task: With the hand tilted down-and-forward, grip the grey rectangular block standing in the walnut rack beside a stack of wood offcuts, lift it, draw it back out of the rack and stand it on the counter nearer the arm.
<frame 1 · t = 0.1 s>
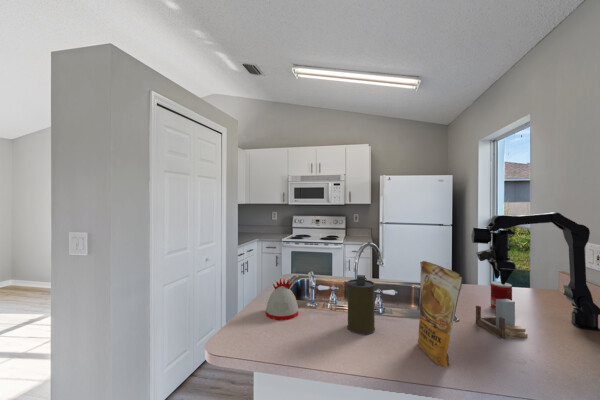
hand: (499, 281, 122), 15 cm above the worktop, tool pointing down, fingers open, 9 cm apart
canister: (360, 328, 110), on the worktop
beanie hat: (282, 314, 124), on the worktop
grey rectangular block: (505, 329, 109), on the worktop
canned food: (501, 308, 131), on the worktop
pancake mix bag: (435, 354, 91), on the worktop
rack: (505, 329, 109), on the worktop
offcut stack: (514, 335, 104), on the worktop
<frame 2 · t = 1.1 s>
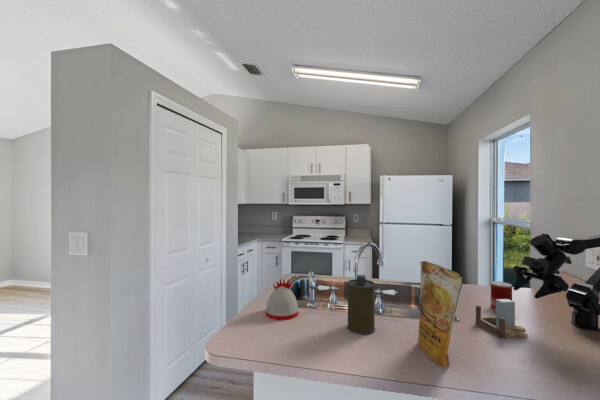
hand: (524, 293, 110), 13 cm above the worktop, tool tilted 45°, fingers open, 9 cm apart
nothing on the worktop moved.
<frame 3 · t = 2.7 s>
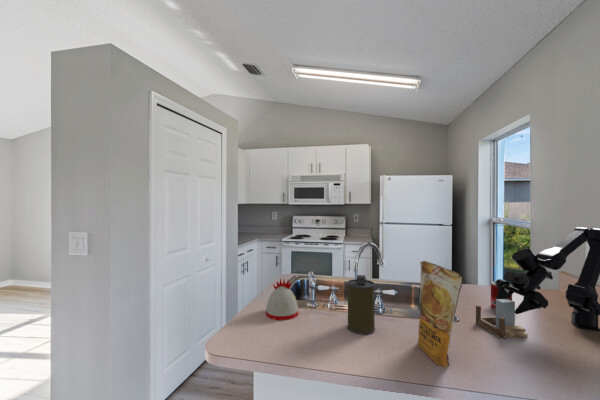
hand: (505, 308, 109), 8 cm above the worktop, tool tilted 45°, fingers open, 9 cm apart
nothing on the worktop moved.
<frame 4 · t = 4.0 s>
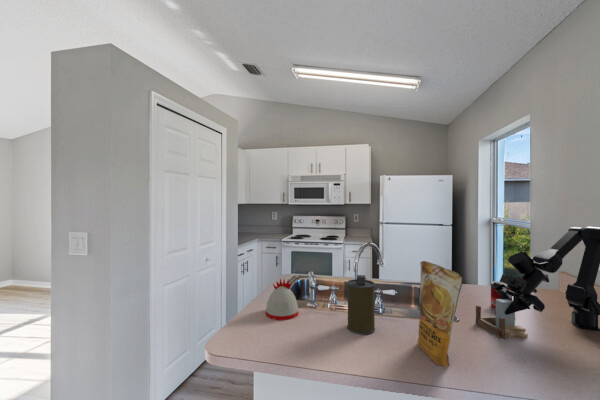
hand: (501, 312, 109), 7 cm above the worktop, tool tilted 45°, fingers closed on grey rectangular block, 3 cm apart
grey rectangular block: (505, 329, 109), on the worktop, touching gripper
everything else where it was.
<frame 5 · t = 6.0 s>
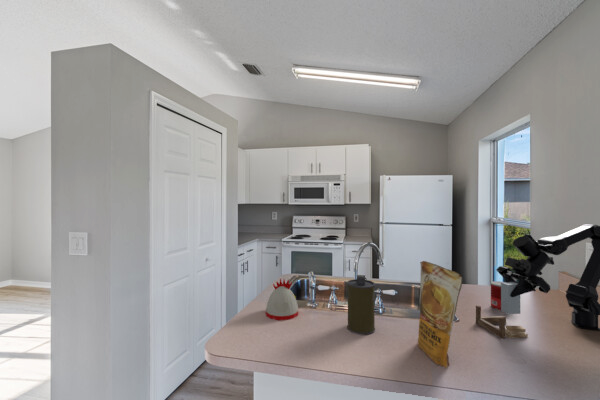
hand: (507, 294, 109), 13 cm above the worktop, tool tilted 45°, fingers closed on grey rectangular block, 3 cm apart
grey rectangular block: (510, 312, 109), point 6 cm above the worktop, touching gripper
everything else where it was.
when the fingers open (7 cm above the worktop, at t = 8.1 s): grey rectangular block stays where it is, on the worktop.
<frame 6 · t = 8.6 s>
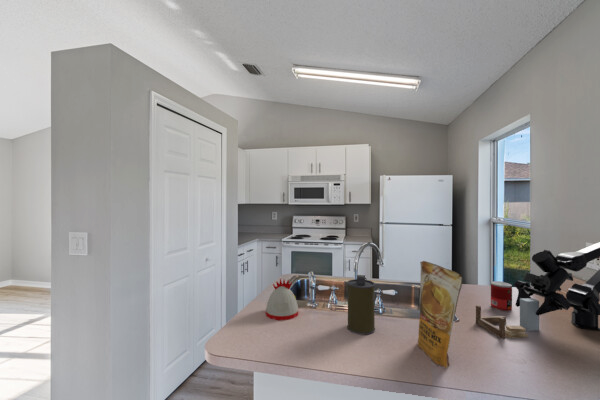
hand: (526, 310, 110), 7 cm above the worktop, tool tilted 45°, fingers open, 8 cm apart
grey rectangular block: (529, 328, 110), on the worktop
everything else where it was.
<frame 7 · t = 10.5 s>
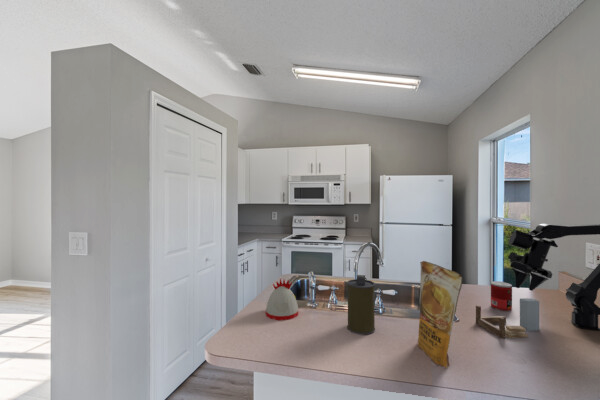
hand: (523, 289, 119), 12 cm above the worktop, tool tilted 20°, fingers open, 9 cm apart
nothing on the worktop moved.
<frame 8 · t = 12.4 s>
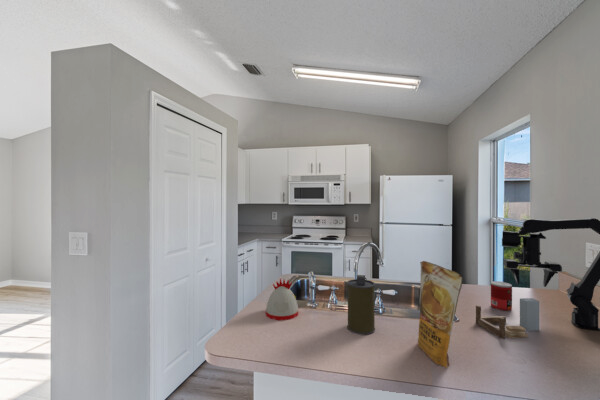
hand: (531, 285, 122), 13 cm above the worktop, tool pointing down, fingers open, 9 cm apart
nothing on the worktop moved.
at the end: grey rectangular block inside the target area (0.1 cm from its centre), on the worktop; grey rectangular block tilted 0°; grey rectangular block moved 10.0 cm from its start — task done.
